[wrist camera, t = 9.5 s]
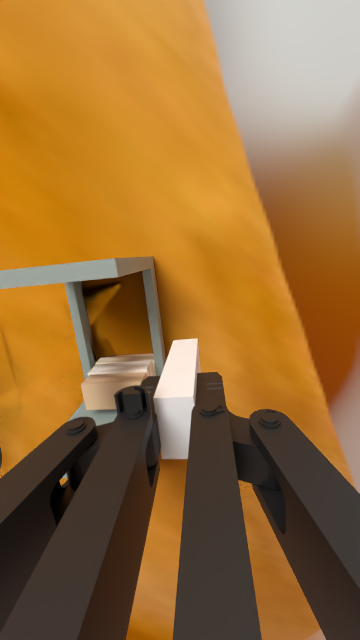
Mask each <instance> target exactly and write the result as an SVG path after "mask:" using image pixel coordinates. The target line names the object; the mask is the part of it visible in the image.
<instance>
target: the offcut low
mask: <svg viewBox="0 0 360 640" xmlns="http://www.w3.org/2000/svg"><path fill="white" fill-rule="evenodd" d="M143 360H151V362H152V368H153V374H154V376H156V369H155V362H154V354H153V353H151V354H133V355H115V356H102V357H101V358H100V359H99V360H98V361H97V362H96V363H95V364H108V363H120V362H132V361H143Z"/></svg>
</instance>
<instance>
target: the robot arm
mask: <svg viewBox="0 0 360 640" xmlns="http://www.w3.org/2000/svg"><path fill="white" fill-rule="evenodd" d="M114 398H115V403H116V409H117V416H116V418H115V420H114V421H113V422H110V423H106V424H102V425H98V426H96V424H95V421H94V419H93V418H91V417H79V418H78V417H77V418H74V419H72V420H70V421H68V422H66V423H65V424H63V425H62V426H61V427H60V428H59V429H57V430H56V431H55V432H54V433H53V434H52V435H50V436H49V437H48V438H47V439H46V440H45V441H43V442H42V443H41V444H40V445H39V446H38V447H36V448H35V449H34V450H33V451H32V452H31V453H29V454H28V455H27V456H26V457H25V458H24V459H23V460H21V461H20V462H19V463H18V464H17V465H16V466H14V467H13V468H12V469H11V470H10V471H9V472H7V473H6V474H5V475H4V476H3V477H2V478H0V640H126V635H127V630H128V625H129V620H130V615H131V610H132V605H133V600H134V595H135V590H136V585H137V581H138V576H139V571H140V566H141V561H142V556H143V551H144V546H145V541H146V536H147V531H148V526H149V521H150V516H151V511H152V506H153V501H154V496H155V491H156V486H157V481H158V476H159V471H160V465H159V459H158V457H159V453H160V449H161V456H162V459H188V462H187V474H186V486H185V498H184V510H183V522H182V534H181V546H180V559H179V571H178V583H177V595H176V607H175V619H174V631H173V640H262V638H261V631H260V625H259V618H258V611H257V604H256V598H255V591H254V584H253V577H252V571H251V564H250V557H249V550H248V544H247V537H246V530H245V523H244V517H243V510H242V503H241V496H240V490H239V483H238V480H241V481H245V482H248V483H251V484H252V486H253V490H254V492H255V494H256V496H257V498H258V500H259V502H260V504H261V506H262V508H263V510H264V512H265V514H266V516H267V518H268V521H269V523H270V525H271V527H272V529H273V531H274V533H275V535H276V537H277V539H278V541H279V543H280V545H281V547H282V549H283V551H284V553H285V556H286V558H287V560H288V562H289V564H290V566H291V568H292V570H293V572H294V574H295V576H296V578H297V580H298V582H299V584H300V586H301V588H302V590H303V593H304V595H305V597H306V599H307V601H308V603H309V605H310V607H311V609H312V611H313V613H314V615H315V617H316V619H317V621H318V623H319V625H320V628H321V630H322V632H323V634H324V636H325V638H326V640H360V494H359V493H358V492H357V491H356V490H355V488H354V487H353V486H352V485H351V484H350V483H349V482H348V481H347V480H346V479H345V478H344V477H343V476H342V475H341V473H340V472H339V471H338V470H337V469H336V468H335V467H334V466H333V465H332V464H331V463H330V462H329V461H328V460H327V458H326V457H325V456H324V455H323V454H322V453H321V452H320V451H319V450H318V449H317V448H316V447H315V446H314V444H313V443H312V442H311V441H310V440H309V439H308V438H307V437H306V436H305V435H304V434H303V433H302V432H301V431H300V429H299V428H298V427H297V426H296V425H295V424H294V423H293V422H292V421H291V420H290V419H289V418H288V417H287V416H286V415H284V414H283V413H281V412H278V411H276V410H270V409H263V410H258V411H255V412H254V413H252V414H251V415H250V418H249V419H247V418H242V417H238V416H236V415H234V414H232V413H231V412H229V410H228V409H227V407H226V402H225V395H224V388H223V381H222V376H221V375H219V374H218V373H217V372H208V373H201V370H200V359H199V348H198V338H197V339H183V340H173V343H172V346H171V349H170V352H169V355H168V357H167V360H166V363H165V366H164V369H163V372H162V374H161V376H148V377H147V378H146V379H144V380H143V381H142V382H141V384H140V385H134V386H128V387H125V388H122V389H121V390H119V391H117V392H116V393H115V394H114ZM1 463H2V453H1V448H0V468H1ZM65 474H67V478H68V480H67V481H66V482H65V483H64V484H63V485H62V486H61V485H60V482H59V480H60V479H61V478H62V477H63V476H64V475H65Z"/></svg>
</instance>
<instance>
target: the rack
mask: <svg viewBox="0 0 360 640" xmlns="http://www.w3.org/2000/svg"><path fill="white" fill-rule="evenodd" d="M139 271H142V274H143V281H144V289H145V296H146V303H147V311H148V318H149V325H150V332H151V340H152V347H153V354H154V362H155V369H156V376H161V374H162V372H163V369H164V366H165V363H166V357H165V349H164V341H163V333H162V325H161V317H160V309H159V301H158V293H157V285H156V277H155V269H154V260H153V257H134V258H114V259H105V260H95V261H86V262H77V263H68V264H58V265H49V266H40V267H31V268H21V269H12V270H3V271H0V289H5V288H15V287H25V286H35V285H45V284H55V283H65V288H66V293H67V298H68V302H69V307H70V312H71V316H72V321H73V326H74V331H75V335H76V340H77V345H78V349H79V354H80V359H81V363H82V368H83V373H84V378H85V379H86V378H87V377H88V374H87V373H88V372H89V371H90V370H91V369H92V368H93V367H94V366H95V365H96V364H95V363H96V362H97V359H96V354H95V349H94V344H93V338H92V333H91V328H90V323H89V318H88V313H87V308H86V303H85V298H84V293H83V287H82V282H81V281H85V280H95V279H105V278H115V277H121V276H124V275H128V274H132V273H135V272H139ZM116 416H117V409H104V410H86V407H85V402H83V403H82V404H81V405H80V407H79V408H78V409H77V410H76V412H75V413H74V414H73V415H72V417H71V418H70V419H69V420H68V421H70V420H72V419H74V418H77V417H78V418H79V417H91V418H93V419H94V421H95V424H96V426H98V425H102V424H106V423H110V422H113V421H114V420H115V418H116ZM62 478H67V474H65V475H64V476H63V477H62Z"/></svg>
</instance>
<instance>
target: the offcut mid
mask: <svg viewBox="0 0 360 640" xmlns="http://www.w3.org/2000/svg"><path fill="white" fill-rule="evenodd" d="M135 372H146V375H147V377H148V376H154V374H153V368H152V362H151V360H143V361H132V362H120V363H108V364H96V365H95V366H94V367H93V368H92V369H91V370H90V371H89V372H88V373H87V374H88V376H89V375H93V374H114V373H135Z"/></svg>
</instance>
